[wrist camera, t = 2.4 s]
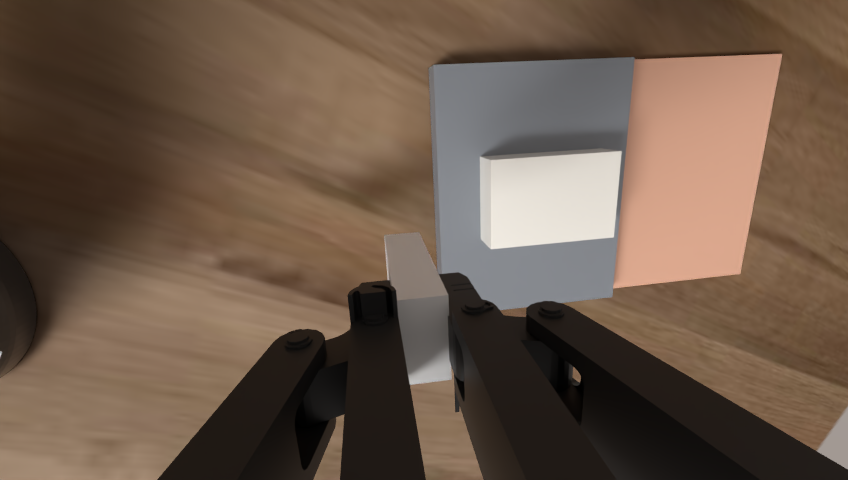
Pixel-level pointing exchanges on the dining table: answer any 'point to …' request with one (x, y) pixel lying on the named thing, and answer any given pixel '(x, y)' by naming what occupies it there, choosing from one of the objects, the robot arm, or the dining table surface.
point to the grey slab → (517, 134)
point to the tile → (548, 197)
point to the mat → (692, 165)
